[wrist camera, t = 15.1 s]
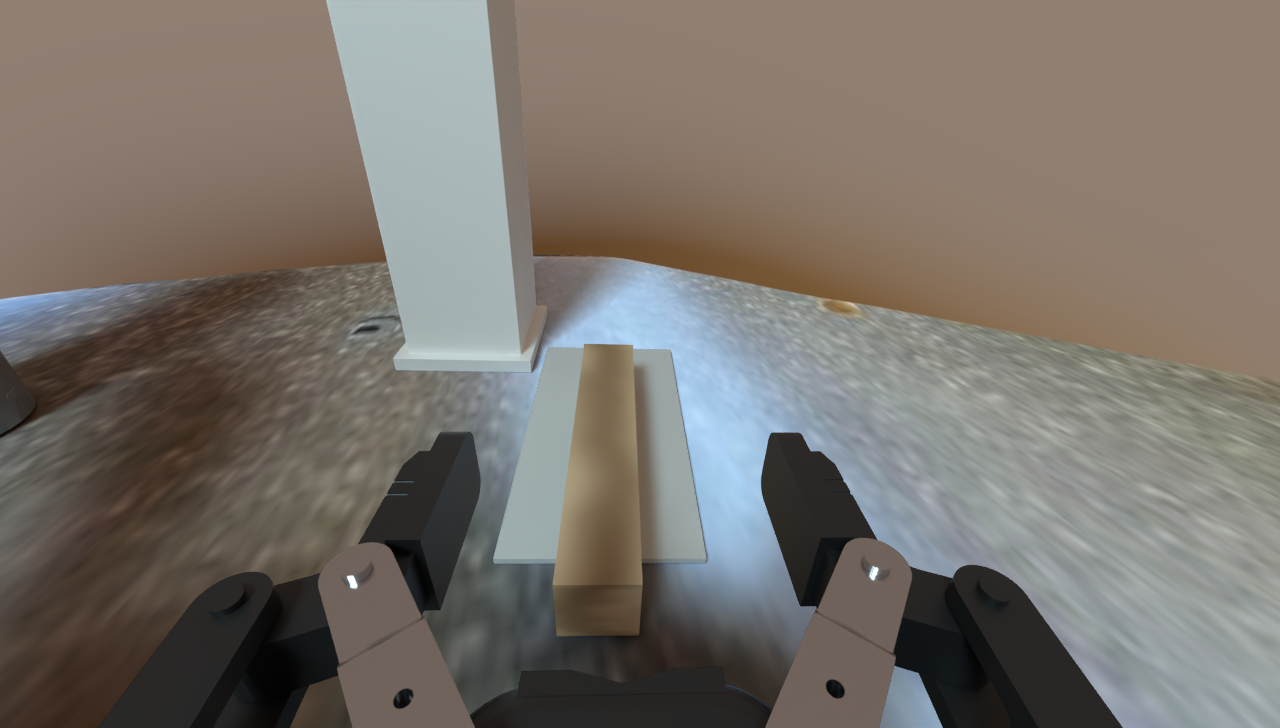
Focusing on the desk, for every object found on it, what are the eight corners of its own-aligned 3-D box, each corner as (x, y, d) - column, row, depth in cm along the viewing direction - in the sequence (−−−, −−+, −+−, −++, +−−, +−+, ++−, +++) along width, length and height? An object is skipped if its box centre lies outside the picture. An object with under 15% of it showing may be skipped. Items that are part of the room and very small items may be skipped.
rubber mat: (494, 563, 28) (493, 559, 27) (547, 350, 48) (547, 347, 48) (705, 563, 28) (706, 558, 28) (669, 353, 49) (670, 349, 48)
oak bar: (556, 636, 24) (552, 585, 22) (585, 384, 43) (584, 344, 41) (638, 635, 24) (642, 584, 22) (631, 385, 43) (632, 344, 41)
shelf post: (395, 370, 44) (271, -117, 27) (438, 312, 54) (366, -68, 38) (531, 372, 45) (490, -102, 28) (547, 315, 55) (525, -58, 38)
